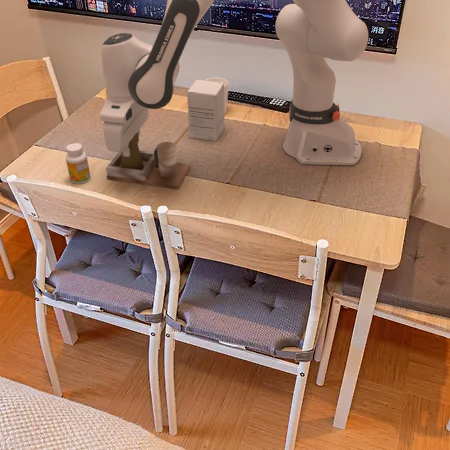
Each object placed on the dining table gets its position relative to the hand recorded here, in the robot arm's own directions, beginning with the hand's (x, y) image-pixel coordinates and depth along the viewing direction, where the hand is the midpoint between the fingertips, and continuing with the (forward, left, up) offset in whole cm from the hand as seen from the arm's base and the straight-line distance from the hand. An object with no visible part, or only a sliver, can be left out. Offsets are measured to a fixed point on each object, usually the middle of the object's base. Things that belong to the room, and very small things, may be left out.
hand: (131, 149), depth 140 cm
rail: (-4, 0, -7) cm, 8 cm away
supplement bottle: (+13, +7, -7) cm, 16 cm away
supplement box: (-13, -26, -7) cm, 30 cm away
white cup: (-12, -41, -7) cm, 43 cm away
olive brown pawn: (0, 0, -6) cm, 6 cm away
